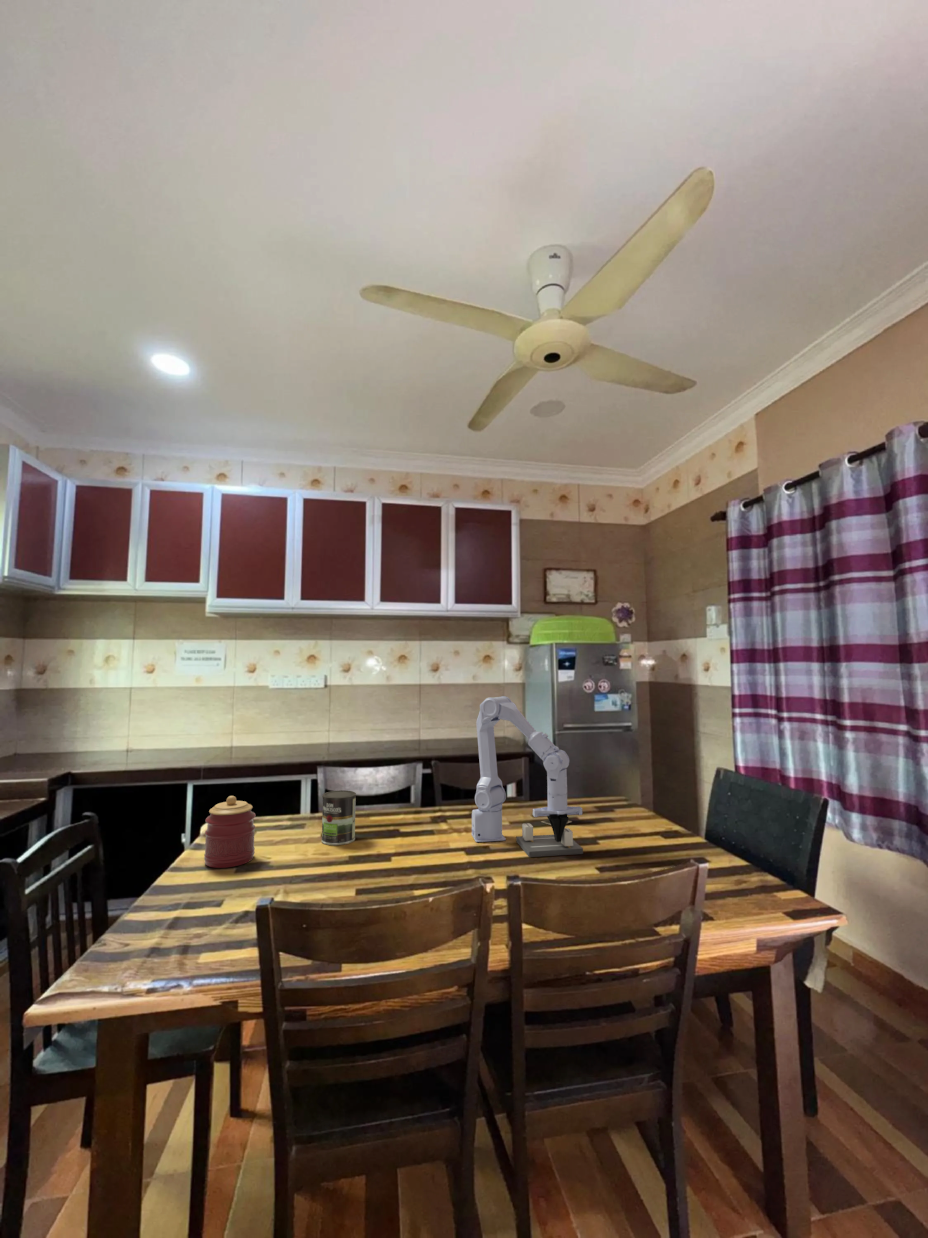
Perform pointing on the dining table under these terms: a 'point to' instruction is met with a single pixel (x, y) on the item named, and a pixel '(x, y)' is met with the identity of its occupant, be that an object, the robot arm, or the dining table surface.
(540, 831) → the dining table surface
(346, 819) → the coffee can
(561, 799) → the robot arm
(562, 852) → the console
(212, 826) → the canister
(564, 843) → the fader near
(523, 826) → the fader far
